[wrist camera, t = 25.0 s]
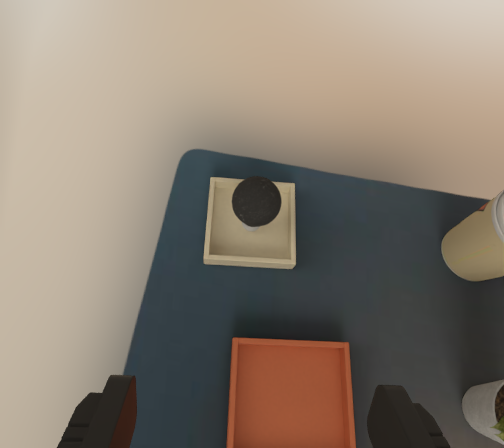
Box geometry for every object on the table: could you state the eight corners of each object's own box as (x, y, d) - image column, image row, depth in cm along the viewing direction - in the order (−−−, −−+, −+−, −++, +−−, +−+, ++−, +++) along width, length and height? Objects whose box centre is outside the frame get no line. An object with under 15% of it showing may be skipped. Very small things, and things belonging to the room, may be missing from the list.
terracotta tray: (225, 473, 37) (225, 480, 35) (232, 339, 42) (233, 337, 40) (350, 475, 38) (358, 481, 36) (342, 343, 43) (349, 342, 41)
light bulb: (234, 201, 48) (239, 161, 39) (275, 210, 48) (289, 172, 39) (224, 240, 46) (227, 207, 36) (267, 249, 46) (281, 219, 37)
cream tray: (203, 264, 45) (203, 258, 43) (210, 185, 49) (210, 176, 47) (292, 269, 46) (295, 264, 44) (291, 191, 50) (294, 183, 48)
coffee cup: (491, 224, 51) (568, 183, 40) (508, 289, 48) (597, 264, 36) (429, 220, 50) (490, 178, 39) (441, 286, 47) (512, 260, 36)
